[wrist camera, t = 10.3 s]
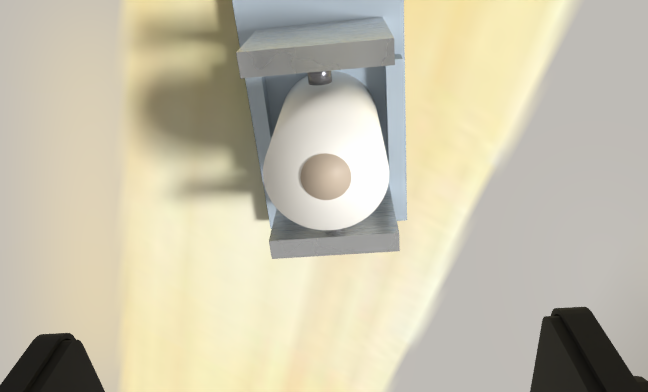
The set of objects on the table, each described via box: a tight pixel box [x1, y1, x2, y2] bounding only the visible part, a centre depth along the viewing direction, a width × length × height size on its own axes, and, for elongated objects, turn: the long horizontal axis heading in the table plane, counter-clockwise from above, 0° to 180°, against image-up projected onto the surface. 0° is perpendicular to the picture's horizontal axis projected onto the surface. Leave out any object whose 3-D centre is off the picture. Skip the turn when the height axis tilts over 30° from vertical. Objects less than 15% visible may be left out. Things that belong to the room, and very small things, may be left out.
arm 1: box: [236, 17, 395, 85], centre depth 21 cm, size 2×6×6 cm, turn 95°
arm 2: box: [269, 183, 399, 259], centre depth 25 cm, size 2×6×6 cm, turn 95°
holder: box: [232, 0, 407, 229], centre depth 25 cm, size 13×8×2 cm, turn 5°
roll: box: [263, 71, 389, 230], centre depth 22 cm, size 5×5×7 cm
